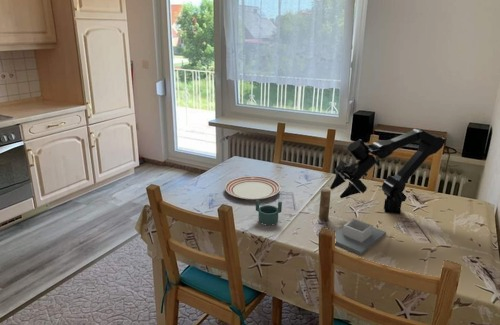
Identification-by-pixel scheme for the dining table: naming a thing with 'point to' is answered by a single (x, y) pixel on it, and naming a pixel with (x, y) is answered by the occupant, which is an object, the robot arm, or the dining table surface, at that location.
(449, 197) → the dining table surface
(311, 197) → the dining table surface
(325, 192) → the dowel post
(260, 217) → the teal handled pot
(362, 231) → the cup socket
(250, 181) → the dinner plate
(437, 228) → the dining table surface
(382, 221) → the dining table surface
